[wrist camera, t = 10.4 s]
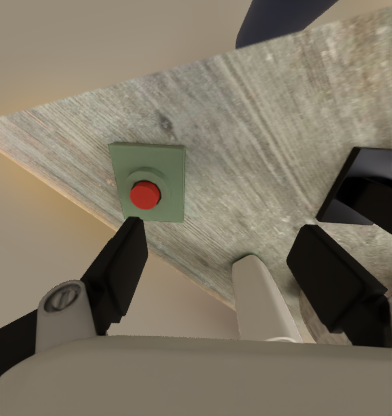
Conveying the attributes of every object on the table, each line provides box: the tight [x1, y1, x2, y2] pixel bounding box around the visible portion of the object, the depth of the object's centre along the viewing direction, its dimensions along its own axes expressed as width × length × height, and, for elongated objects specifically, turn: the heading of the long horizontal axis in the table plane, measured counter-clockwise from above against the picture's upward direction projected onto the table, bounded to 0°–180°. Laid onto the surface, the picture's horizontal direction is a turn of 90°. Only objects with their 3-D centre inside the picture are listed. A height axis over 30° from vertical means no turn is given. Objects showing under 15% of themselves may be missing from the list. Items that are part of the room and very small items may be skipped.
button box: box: [108, 142, 185, 223], centre depth 24 cm, size 12×10×4 cm
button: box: [130, 181, 160, 210], centre depth 22 cm, size 4×4×2 cm
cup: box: [232, 255, 303, 343], centre depth 28 cm, size 7×7×15 cm
